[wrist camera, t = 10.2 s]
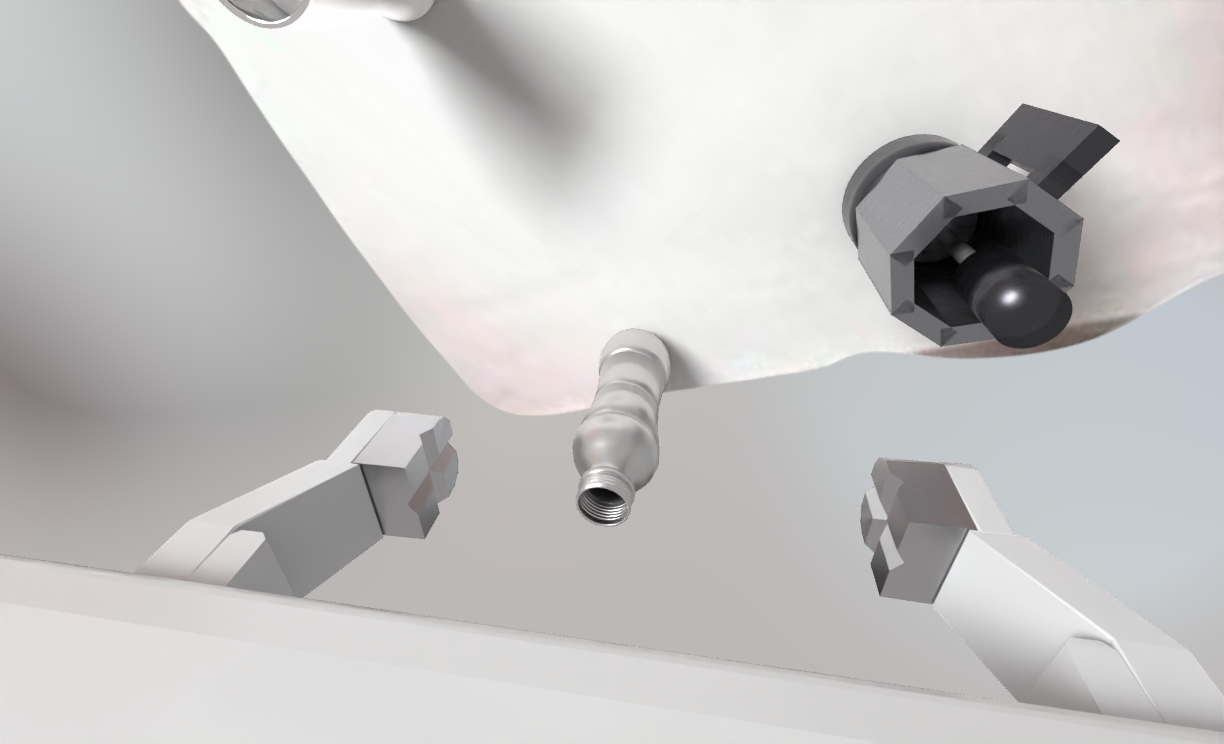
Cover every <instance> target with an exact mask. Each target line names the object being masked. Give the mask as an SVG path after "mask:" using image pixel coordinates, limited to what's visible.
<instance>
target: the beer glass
mask: <svg viewBox="0 0 1224 744" xmlns="http://www.w3.org/2000/svg"><path fill="white" fill-rule="evenodd" d="M219 1H220V2H221V3H222V4H223V5H224V6H225V7H226V8H227V9H228V10H230V11H231V12H232V13H233V14H235V15H236V16H238V17H239V18H241V19H242V20H244V21H246V22H248V23H250V24H253V25H255V26H258V27H262V28H270V29H276V28H278V29H286V30H295V31H305V32H326V31H336V30H343V29H346V28H349V27H353V26H356V25H359V24H361V23H364V22H366V21H368V20H370V19H372V18H375V17H377V16H379V15H382V16H385V17H387V18H389V19H392V20H396V21H402V22H408V21H413V20H416V19H418V18H420V17H422V16H423V15H424V14H426V13H427V12H428V10H429V9H430V8H431V6H432V5H433V3H434V1H435V0H219Z"/></svg>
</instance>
